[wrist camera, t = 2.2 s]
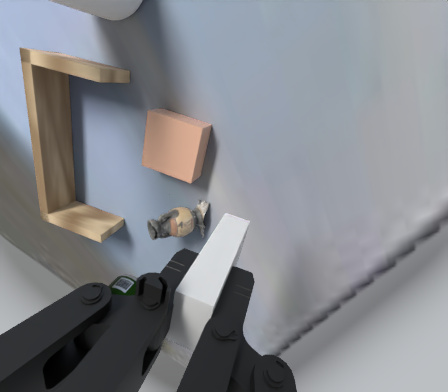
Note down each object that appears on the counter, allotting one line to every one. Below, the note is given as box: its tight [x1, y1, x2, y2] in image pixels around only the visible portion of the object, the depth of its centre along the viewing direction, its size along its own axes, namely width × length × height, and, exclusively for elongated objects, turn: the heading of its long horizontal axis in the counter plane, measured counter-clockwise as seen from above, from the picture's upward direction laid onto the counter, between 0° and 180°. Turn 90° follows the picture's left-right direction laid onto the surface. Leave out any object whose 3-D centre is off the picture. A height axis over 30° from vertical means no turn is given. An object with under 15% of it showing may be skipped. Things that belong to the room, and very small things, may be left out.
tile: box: [142, 108, 212, 183], centre depth 28 cm, size 6×6×3 cm
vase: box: [148, 194, 209, 240], centre depth 30 cm, size 5×5×6 cm
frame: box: [20, 48, 130, 243], centre depth 31 cm, size 9×20×4 cm, turn 168°
